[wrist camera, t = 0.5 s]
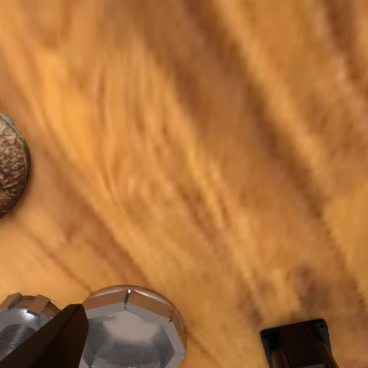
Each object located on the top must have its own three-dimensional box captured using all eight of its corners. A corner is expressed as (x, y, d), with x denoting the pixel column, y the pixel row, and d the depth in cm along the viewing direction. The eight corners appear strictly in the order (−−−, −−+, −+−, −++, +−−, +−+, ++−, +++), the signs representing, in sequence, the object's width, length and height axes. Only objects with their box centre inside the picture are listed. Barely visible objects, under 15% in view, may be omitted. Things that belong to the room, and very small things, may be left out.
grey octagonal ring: (196, 353, 28) (197, 376, 26) (102, 371, 29) (95, 394, 27) (163, 273, 24) (160, 292, 22) (57, 299, 26) (45, 318, 24)
